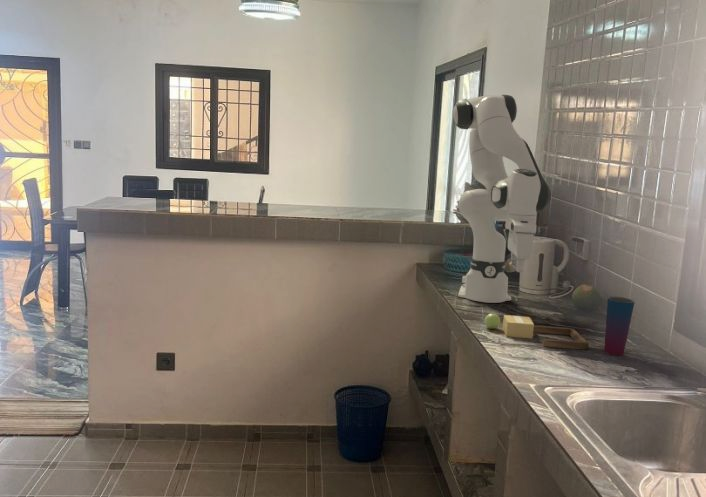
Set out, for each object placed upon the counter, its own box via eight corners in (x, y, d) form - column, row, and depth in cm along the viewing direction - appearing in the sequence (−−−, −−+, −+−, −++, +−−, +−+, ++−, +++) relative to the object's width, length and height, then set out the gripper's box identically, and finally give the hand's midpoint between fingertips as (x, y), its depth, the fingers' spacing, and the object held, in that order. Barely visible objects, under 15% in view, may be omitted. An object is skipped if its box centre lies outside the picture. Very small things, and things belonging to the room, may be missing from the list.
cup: (629, 357, 173) (637, 303, 170) (603, 354, 174) (610, 301, 172) (624, 350, 180) (631, 297, 177) (598, 347, 181) (605, 295, 178)
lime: (482, 325, 195) (484, 311, 194) (497, 326, 195) (499, 312, 194) (485, 330, 190) (486, 315, 190) (500, 331, 190) (502, 316, 189)
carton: (502, 329, 194) (503, 314, 193) (527, 331, 193) (529, 316, 192) (505, 336, 186) (507, 322, 185) (532, 339, 185) (533, 324, 184)
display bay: (531, 331, 192) (531, 325, 192) (572, 333, 192) (573, 328, 192) (543, 346, 178) (544, 340, 178) (587, 349, 178) (588, 343, 178)
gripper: (505, 219, 203) (501, 262, 205) (515, 226, 183) (511, 274, 185) (525, 221, 203) (521, 264, 205) (537, 228, 183) (533, 275, 185)
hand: (516, 269), depth 195 cm, fingers open, 8 cm apart
